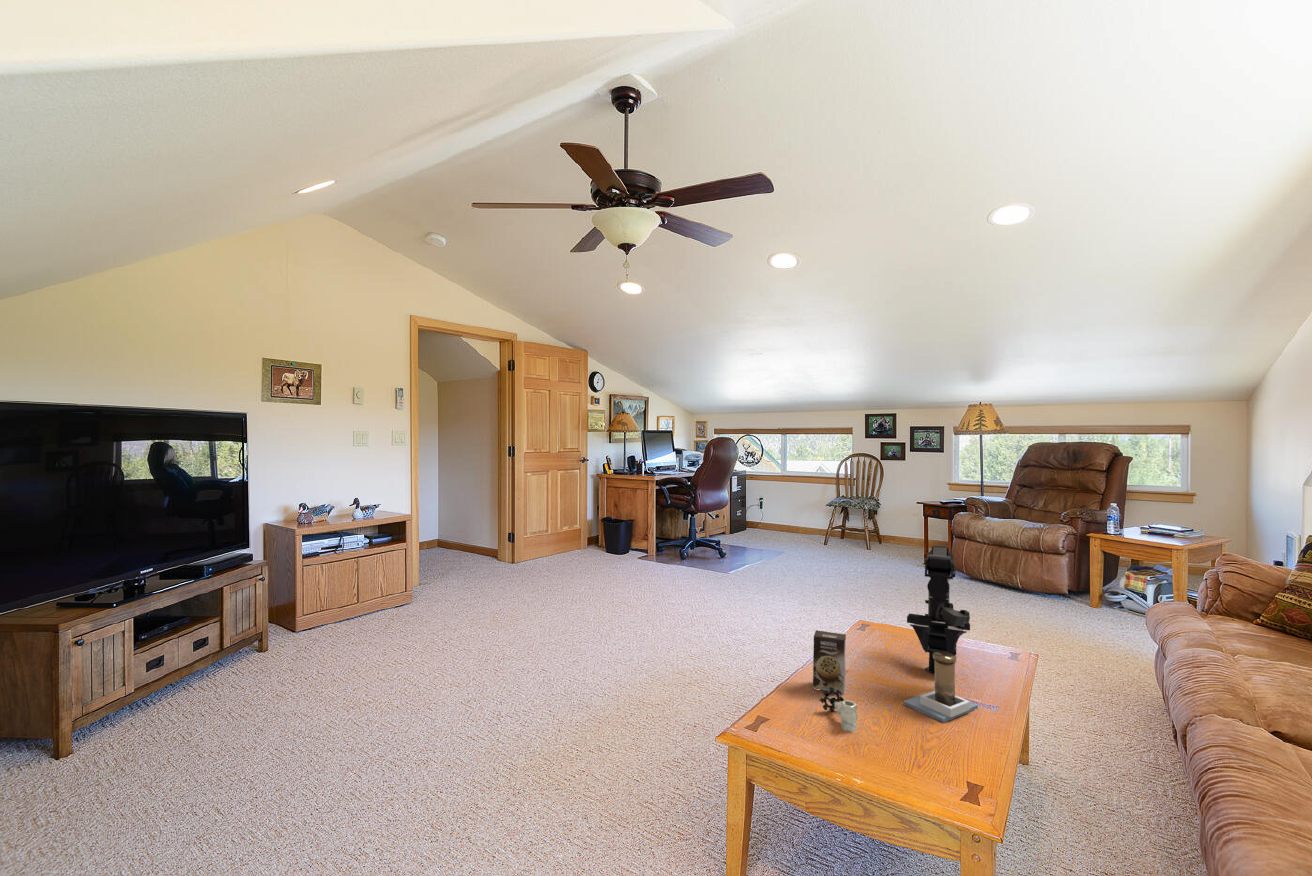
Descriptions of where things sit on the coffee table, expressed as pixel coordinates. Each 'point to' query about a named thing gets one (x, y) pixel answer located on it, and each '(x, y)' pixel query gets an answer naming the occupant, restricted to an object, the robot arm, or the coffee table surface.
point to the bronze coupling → (945, 678)
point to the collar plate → (939, 706)
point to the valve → (841, 709)
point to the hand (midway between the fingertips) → (938, 652)
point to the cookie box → (829, 661)
